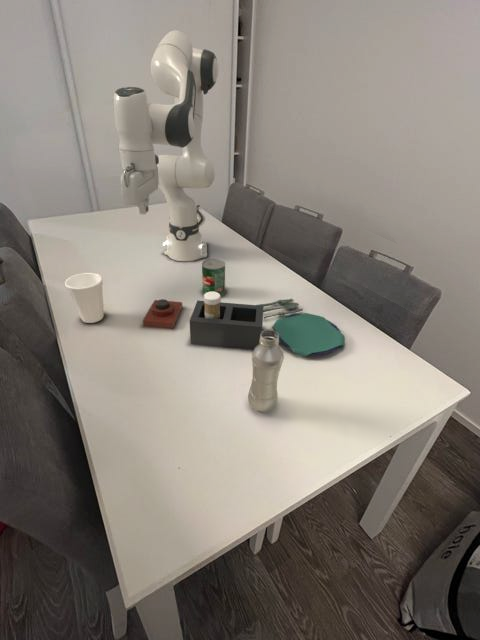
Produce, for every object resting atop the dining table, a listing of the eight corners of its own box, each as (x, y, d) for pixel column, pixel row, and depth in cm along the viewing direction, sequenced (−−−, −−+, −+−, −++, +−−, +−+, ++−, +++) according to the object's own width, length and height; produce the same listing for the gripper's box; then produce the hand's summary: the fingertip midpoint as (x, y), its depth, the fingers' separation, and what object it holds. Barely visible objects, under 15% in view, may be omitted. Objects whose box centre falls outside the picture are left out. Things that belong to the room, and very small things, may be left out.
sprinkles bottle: (223, 336, 98) (223, 296, 91) (209, 341, 96) (208, 300, 88) (215, 328, 101) (215, 289, 94) (202, 332, 99) (200, 293, 92)
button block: (155, 305, 111) (154, 295, 108) (182, 307, 110) (181, 297, 108) (143, 326, 101) (141, 315, 98) (173, 329, 100) (172, 317, 98)
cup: (116, 313, 106) (109, 276, 98) (95, 330, 98) (86, 291, 91) (90, 306, 108) (81, 270, 101) (67, 323, 100) (56, 284, 93)
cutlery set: (295, 366, 88) (296, 360, 87) (248, 309, 111) (248, 303, 110) (355, 349, 95) (357, 343, 94) (299, 298, 118) (300, 293, 117)
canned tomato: (228, 289, 121) (229, 261, 115) (218, 299, 115) (218, 270, 109) (209, 284, 124) (209, 257, 118) (198, 294, 118) (197, 265, 112)
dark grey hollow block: (198, 322, 103) (197, 300, 99) (261, 328, 102) (263, 305, 98) (190, 344, 94) (189, 320, 90) (260, 350, 93) (262, 327, 89)
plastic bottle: (245, 394, 80) (250, 325, 68) (274, 393, 80) (283, 325, 69) (248, 416, 74) (254, 345, 63) (278, 415, 75) (289, 344, 64)
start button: (158, 303, 105) (158, 298, 104) (170, 304, 105) (169, 299, 104) (155, 309, 102) (154, 304, 101) (167, 310, 102) (166, 305, 101)
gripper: (136, 168, 81) (143, 225, 89) (160, 155, 98) (164, 204, 106) (110, 167, 81) (119, 223, 89) (139, 154, 98) (144, 203, 106)
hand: (144, 213), depth 98 cm, fingers closed
